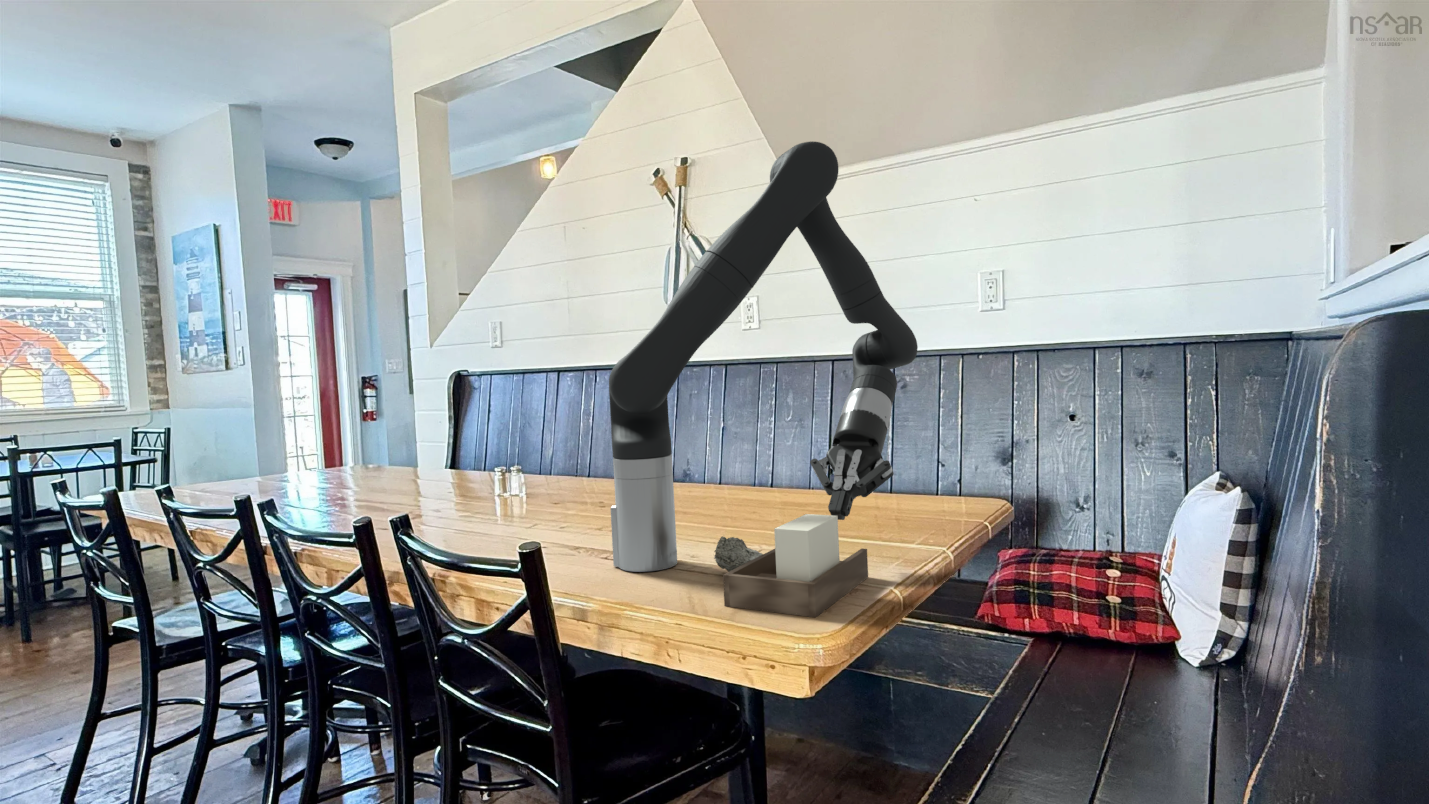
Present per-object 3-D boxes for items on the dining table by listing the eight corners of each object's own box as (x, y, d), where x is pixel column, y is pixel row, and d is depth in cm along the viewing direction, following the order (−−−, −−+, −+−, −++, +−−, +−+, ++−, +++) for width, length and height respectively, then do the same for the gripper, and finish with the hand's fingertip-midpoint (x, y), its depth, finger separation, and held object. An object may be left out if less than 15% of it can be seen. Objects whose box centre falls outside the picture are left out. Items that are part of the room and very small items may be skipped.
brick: (777, 592, 96) (774, 528, 96) (808, 572, 105) (806, 514, 104) (810, 596, 94) (807, 530, 94) (840, 575, 102) (837, 515, 102)
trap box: (724, 605, 98) (722, 574, 98) (787, 569, 115) (786, 542, 114) (815, 617, 92) (814, 584, 92) (868, 577, 108) (867, 548, 108)
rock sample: (774, 556, 107) (739, 511, 112) (733, 592, 108) (700, 546, 112) (797, 570, 116) (763, 528, 121) (759, 604, 116) (727, 560, 121)
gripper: (816, 408, 120) (786, 498, 110) (899, 407, 114) (875, 503, 103) (830, 438, 125) (802, 528, 115) (911, 439, 118) (889, 534, 108)
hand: (837, 516), depth 109 cm, fingers closed
